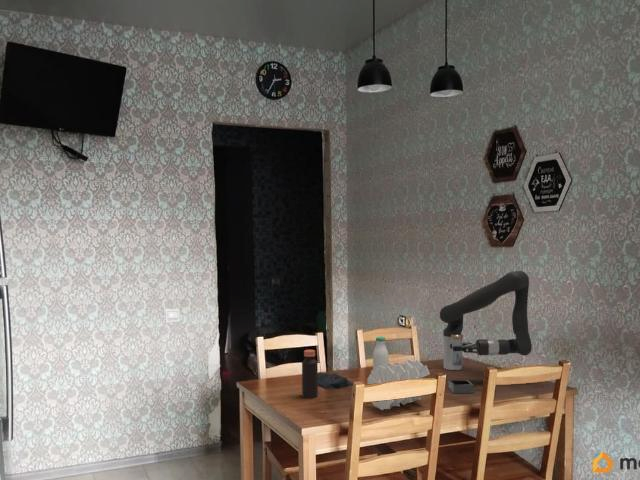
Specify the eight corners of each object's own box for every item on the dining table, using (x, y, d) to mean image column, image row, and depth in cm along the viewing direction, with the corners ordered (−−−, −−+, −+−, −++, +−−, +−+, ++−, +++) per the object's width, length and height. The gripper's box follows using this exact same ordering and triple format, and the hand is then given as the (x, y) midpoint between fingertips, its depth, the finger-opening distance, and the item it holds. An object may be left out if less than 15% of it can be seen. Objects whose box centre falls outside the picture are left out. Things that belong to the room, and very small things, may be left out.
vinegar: (312, 399, 248) (311, 352, 248) (299, 397, 252) (298, 351, 251) (320, 395, 254) (320, 350, 254) (307, 393, 257) (307, 348, 257)
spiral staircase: (369, 418, 234) (409, 403, 250) (398, 408, 222) (438, 393, 238) (353, 375, 239) (393, 362, 256) (381, 363, 227) (421, 351, 243)
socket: (448, 388, 264) (448, 380, 264) (468, 387, 265) (468, 379, 265) (453, 393, 255) (453, 385, 255) (473, 393, 256) (473, 384, 256)
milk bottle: (388, 380, 280) (387, 338, 280) (372, 379, 281) (371, 338, 281) (389, 376, 287) (389, 336, 287) (373, 375, 289) (373, 335, 289)
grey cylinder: (450, 363, 276) (450, 333, 276) (461, 362, 276) (461, 333, 276) (453, 365, 271) (453, 335, 270) (464, 365, 271) (464, 335, 270)
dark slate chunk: (330, 377, 289) (330, 367, 289) (355, 386, 270) (355, 376, 270) (303, 381, 281) (303, 371, 281) (328, 391, 262) (328, 381, 262)
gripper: (482, 336, 280) (447, 336, 280) (492, 342, 266) (455, 342, 266) (482, 351, 281) (447, 352, 280) (492, 358, 266) (455, 358, 266)
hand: (451, 347), depth 273 cm, fingers closed on grey cylinder, 4 cm apart
